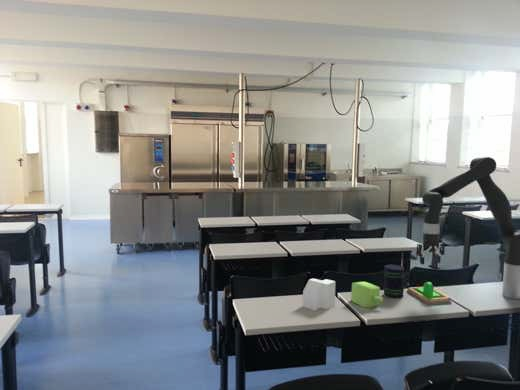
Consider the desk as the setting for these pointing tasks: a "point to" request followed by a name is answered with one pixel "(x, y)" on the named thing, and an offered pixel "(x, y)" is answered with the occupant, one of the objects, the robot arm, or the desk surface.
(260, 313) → the desk surface
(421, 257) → the robot arm
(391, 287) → the storage jar
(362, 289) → the gearbox
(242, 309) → the desk surface
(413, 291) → the fitting jig
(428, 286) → the mechanical part
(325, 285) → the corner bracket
